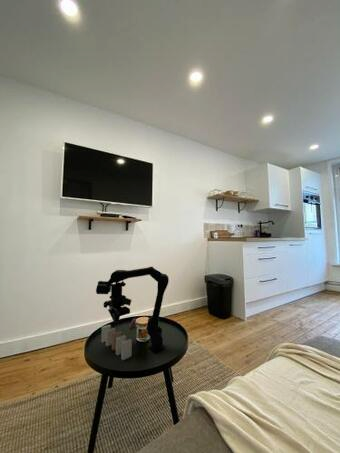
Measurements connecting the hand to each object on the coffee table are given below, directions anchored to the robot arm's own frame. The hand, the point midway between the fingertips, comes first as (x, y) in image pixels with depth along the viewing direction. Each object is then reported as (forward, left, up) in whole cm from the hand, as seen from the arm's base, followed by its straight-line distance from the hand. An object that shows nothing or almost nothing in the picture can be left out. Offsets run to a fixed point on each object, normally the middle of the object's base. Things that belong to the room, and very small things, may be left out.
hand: (115, 323), depth 110 cm
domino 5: (-11, 0, -13) cm, 17 cm away
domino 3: (0, -1, -13) cm, 13 cm away
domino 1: (+11, 0, -13) cm, 17 cm away
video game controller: (+12, -22, -13) cm, 28 cm away
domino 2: (+5, 0, -13) cm, 14 cm away
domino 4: (-6, 0, -13) cm, 14 cm away
